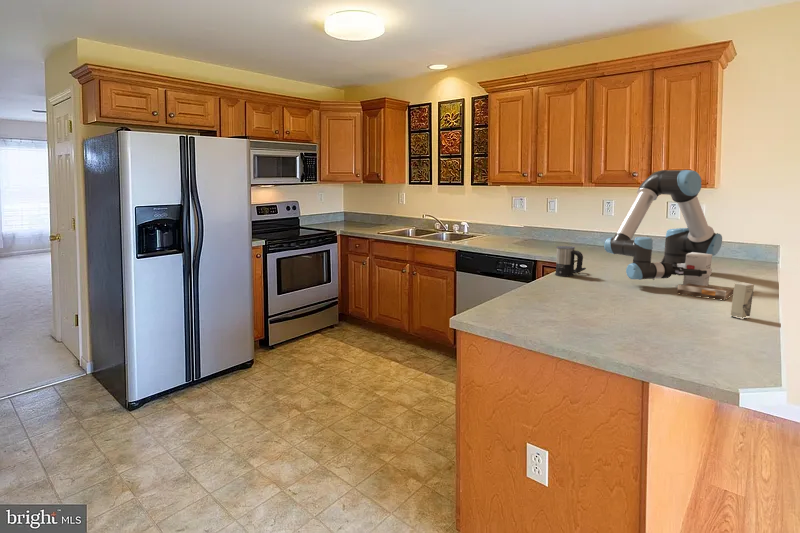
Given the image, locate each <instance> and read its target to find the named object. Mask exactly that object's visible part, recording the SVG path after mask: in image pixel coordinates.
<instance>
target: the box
mask: <svg viewBox="0 0 800 533" xmlns="http://www.w3.org/2000/svg"><path fill="white" fill-rule="evenodd" d="M754 288H755V284H752V283H747V282H744V281H742V282H736V283H734V285H733V290H734V292H733V295H732V301H731V302H732V303H731V309H730V315H732V316H737V317H742V318H743V317H746V316H750V317H751V309H752V302H753V296H754Z"/></svg>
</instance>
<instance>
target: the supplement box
mask: <svg viewBox="0 0 800 533" xmlns="http://www.w3.org/2000/svg"><path fill="white" fill-rule="evenodd" d="M712 259H713V256H712V254H705V253H696V252H691V253H688V254H686V262H685V269H697V270H698V269H710V268H711V269H712V262H713V260H712ZM710 276H711V275H702V276H700V277H698V276H687V275H683V279H682V280H683V281H682V285H686V284H696V285H703V286H709V283H710Z"/></svg>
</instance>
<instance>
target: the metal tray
mask: <svg viewBox="0 0 800 533" xmlns="http://www.w3.org/2000/svg"><path fill="white" fill-rule="evenodd" d="M676 291H677V292H676V294H677V293H680V294H679V295H682V294H687V295H686V296H689V295H693V296H692V297H696V296H701V297H700V298H702V297H709V298H715V299H722V300H725V299H726V298H727V299H729V298H730V297H731V296H733V295H732V294H733V292H734V289H730V288H724V287H717V286H709V285H707V286H703V285H696V284H686V285H683V284H677V290H676ZM729 296H730V297H729ZM728 297H729V298H728ZM709 298H708V299H709ZM715 299H714V300H715ZM727 299H726V300H727ZM722 300H721V301H722ZM726 300H725V301H726Z"/></svg>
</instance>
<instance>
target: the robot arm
mask: <svg viewBox="0 0 800 533" xmlns="http://www.w3.org/2000/svg"><path fill="white" fill-rule="evenodd" d="M702 186H703V185H702V177H701V175H700V174H699V173H698V172H697V171H696V170H691V169H690V170H689V169H678V170H677V169H662V170H661V169H660V170H658V171H656V172H654V173H652V174H651V175H649V176H648V177H647V178H646V179H645V180H644V181H643V182H642V183H641V184H640V185H639V187H638V188H637V190H636V193H637V195H636V197H635V199H634V200H633V202H632V204H631V206H630V208H629V209H628V211H627V213H626V214H625V216H624V218H623V220H622V222H621V224H620V226H619V227H618V229H617V230H616V232H615V234H614V236H613V237H608V238H606V240H605V241H604V244H603V246H604V250H605V252H606V253H609V254H613V255H621V256H627V257H632V262H631V263H629V264H628V265H627V267H626V268H625V273H626V276H627V278H628V279H630V280H638V281H639V280H652V281H654V280H655V279H670V277H671V276H676V275H677V276H684V275H687V276H698V277H700V276H702V275H710V276H711V275H712V270H713V269H712V267H711V268H710V269H698V270H697V269H685V262H686V254H688V253H691V252H696V253H705V254H712V257H714V256H716V255H717V254H718V253H719V252H720V249H721V247H722V244H723V236H722V234H721V233H718V232H717V233H716V232H715V230H714V229H713V227H712V226H710V225H709V224H708V221H707V219H706V217H705V214H704V211H703V209H702V205H701V203H700V200H699V197H698V195H699V193H700V192H701V189H702ZM660 195H666V196H668V195H669V196H670V197H671V200H672V201H673V202H674V203H677V205H678V207H679V209H680V212H681V214H682V217H683V220H684V222H685V224H686V227H677V228H668V229H667V230H666V232H665V237H664V238H665V242H664V251H663V252H664V253H663V257H662V259H661V261H658V262H655V261H654V262H652V255H653V253H652V252H653V241H654V240H653V239H652V238H651V237H649V236H636V237H634V236H635V234H636V233H637V230H638V228H639V226H640V225H641V223H642V221H643V219H644V218H645V216H646V214H647V212H648V211H649V209H650V207H651V205H652V203H653V201H656V200H657V199H658V198H659V196H660ZM633 238H634V239H633Z"/></svg>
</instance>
